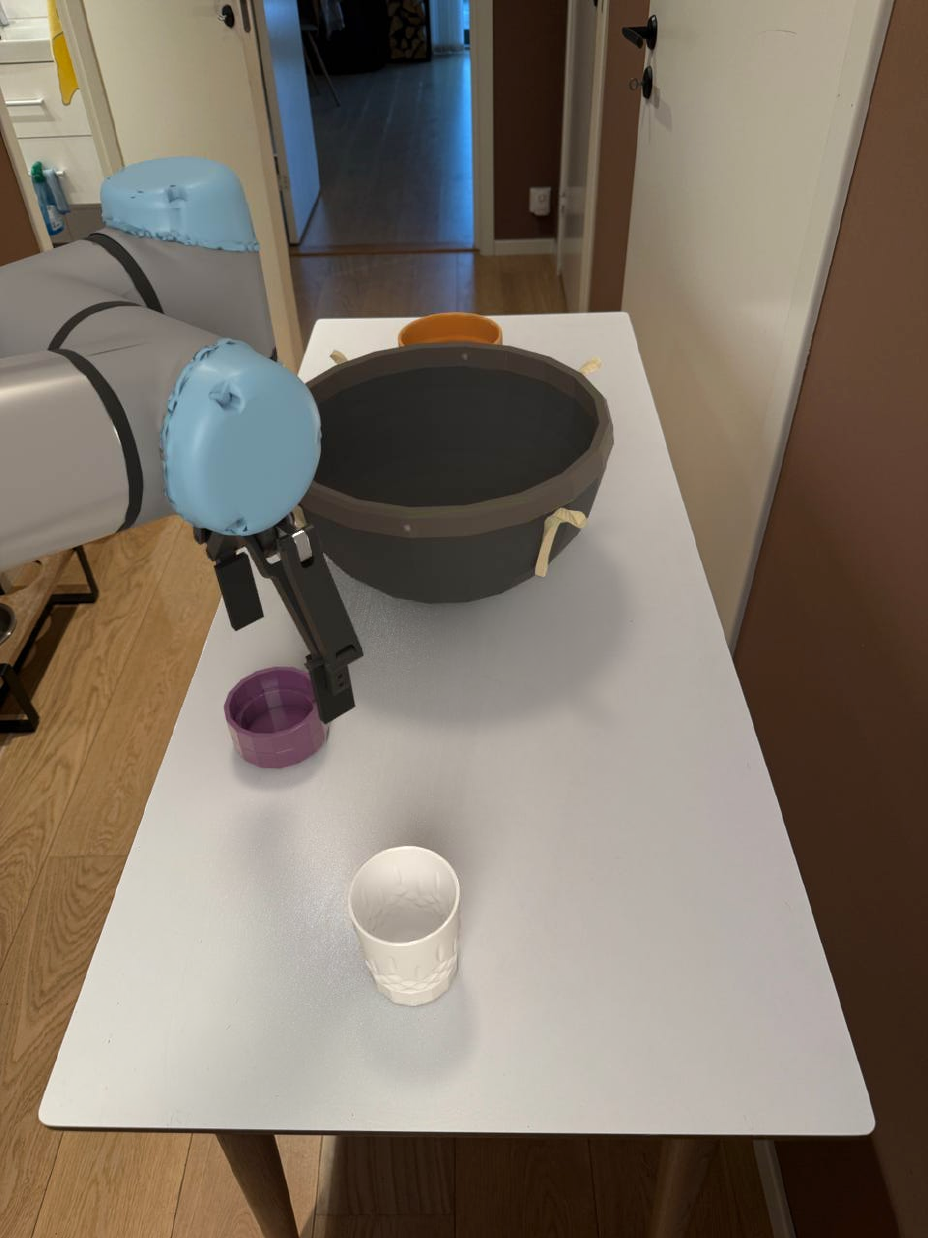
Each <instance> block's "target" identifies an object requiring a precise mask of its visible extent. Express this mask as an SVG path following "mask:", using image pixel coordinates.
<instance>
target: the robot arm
mask: <svg viewBox="0 0 928 1238" xmlns="http://www.w3.org/2000/svg"><path fill="white" fill-rule="evenodd" d="M99 199H100V200H99V201H100V205H101V209H102V210H101V216H100V217H101V219H102V223H103V224H105V226H104V227H103V228H101V229H99V230H96V231H94V232H91V233H89V234H88V235H86V236H85V237H82V238H79V239H77V240H75V241H72V242H69V243H65V244H63V245H60V246H57V247H54V248H51V249H48V250H45V251H42V252H39V253H37V254H34V255H30V256H28V257H24V258H21V259H19V260H16V261H13V262H10V263H7V264H4V265H1V266H0V574H1V573H4V572H7V571H9V570H12V569H16V568H18V567H22V566H24V565H28V564H30V563H33V562H36V561H39V560H42V559H45V558H48V557H51V556H53V555H56V554H59V553H63V552H65V551H67V550H70V549H73V548H76V547H80V546H82V545H86V544H88V543H92V542H94V541H97V540H99V539H103V538H105V537H108V536H111V535H114V534H116V533H117V534H118V533H120V532H123V531H126V530H127V531H128V530H131V529H136V528H138V527H141V526H144V525H147V524H150V523H152V522H155V521H159V520H161V519H165V518H168V517H171V516H179V517H180V518H181V519H182V520H183V521H185V522H187V524H189V525H191V526H192V535H193V539H194V542H196V543H197V544H198V545H199V546H202V545H204V544H205V545H206V547H205V554H206V556H207V558H208V559H209V560H210V562H213V563H215V564H214V565H213V569H214V573H215V576H216V580H217V582H218V587H219V589H220V593H221V596H222V600H223V603H224V606H225V610H226V613H227V616H228V620H229V623H230V627H231V628H232V629H233V630H234V631H235V632H238V631H239V630H243V629H244V628H245V627H247V626H249V625H251V624H253V623H255V622H257V621H259V620H261V619H263V618H265V614H264V610H263V606H262V602H261V599H260V594H259V590H258V587H257V584H256V578H255V575H254V572H253V568H252V564H251V560H252V561H253V564H254V565H255V567H256V569H257V570H258V571H257V572H258V573H259V575H260V577H262V578H263V579H267V580H270V581H271V582H272V584H273V586H274V588H275V589H276V591H277V593H278V595H279V597H280V599H281V601H282V602H283V605H284V606H285V608H286V610H287V612H288V614H289V616H290V618H291V620H292V623H294V626H295V627H296V629H297V632H298V633H299V635H300V637H301V639H302V641H303V643H304V644H305V647H306V648H307V650H308V652H309V654H307V655H305V661H306V662H305V663H303V665H304V667H305V668H306V669H307V670H308V673H309V675H310V679H311V683H312V688H313V692H314V696H315V701H316V705H317V710H318V714H319V718H320V720H321V721H322V722H323V723H324V724H325V725H326V724H327V723H328V724H329V723H330V722H332V721H334V720H336V719H337V718H340V716H342V715H344V714H345V713H347V712H350V710H352V709H354V708H356V703H355V696H354V691H353V686H352V681H351V676H350V670H349V665H350V664H352V663H354V662H356V661H357V660H359V659H361V658H362V657H364V655H365V654H364V650H363V647H362V645H361V642H360V640H359V637H358V635H357V633H356V630H355V628H354V626H353V625H354V624H353V623H352V621H351V618H350V616H349V613H348V611H347V609H346V606H345V604H344V601H343V599H342V597H341V594H340V591H339V589H338V587H337V585H336V584H337V583H336V582H335V579H334V577H333V575H332V571H331V570H330V567H329V564H328V563H327V560H326V557H325V554H324V553H323V550H322V546H321V542H320V538H319V534H318V531H317V529H316V528H315V527H314V525H313V524H311V523H310V524H308V525H306V526H303V527H301V528H298V527H297V525H296V523H295V516H294V514H293V512H292V510H293V509H294V508H295V507H296V506H297V504H298V503H299V502H300V501H301V499H302V498H303V496H304V495H305V493H306V492H307V490H308V488H309V486H310V484H311V482H312V480H313V478H314V475H315V472H316V469H317V466H318V463H319V458H320V452H321V444H320V439H321V436H322V434H321V430H320V427H321V422H320V415H319V411H318V408H317V405H316V402H315V400H314V398H313V395H312V394H311V392H310V390H309V389H308V387H307V386H306V385H305V383H306V382H304V381H303V380H302V379H301V377H299V376H298V375H296V374H295V372H293V371H292V370H291V369H289V368H288V367H286V366H285V362H284V361H283V360H282V359H281V358H280V357H278V349H277V345H276V337H275V333H274V328H273V322H272V317H271V311H270V306H269V305H270V304H269V300H268V294H267V288H266V283H265V278H264V277H265V276H264V272H263V266H262V260H261V254H260V250H261V245H260V242H259V240H258V238H257V235H256V230H255V227H254V224H253V223H254V222H253V217H252V215H251V210H250V208H249V203H248V201H247V197H246V195H245V191H244V188H243V185H242V182H241V180H240V178H239V177H238V175H237V174H236V172H235V171H234V170H233V169H232V168H230V167H229V166H228V165H226V164H225V163H223V162H220V161H217V160H214V159H210V158H206V157H202V156H169V157H167V156H166V157H160V158H153V159H148V160H143V161H139V162H136V163H132V164H128V165H126V166H123V167H122V168H120V169H119V170H118V171H117V172H114V173H113V174H110V175H108V176H106V178H105V179H104V180H103V181H102V183H101V185H100V189H99ZM244 548H245V549H246V550H247V552H248V554H247V553H246V551H241V552H239V553H237V551H239V550H241V549H244ZM249 555H250V556H249ZM276 555H277V557H278V559H279V560H277V561H275V562H273V563H271V562H269V561H268V559H270V558H272V557H274V556H276ZM250 558H251V560H250Z"/></svg>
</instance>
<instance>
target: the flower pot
mask: <svg viewBox="0 0 928 1238" xmlns="http://www.w3.org/2000/svg"><path fill="white" fill-rule="evenodd" d="M503 339H504V338H503V329H502V327H501V326H500V325H499V324H498V323H497V322H495V321H494V320H493V319H492V318H489V317H488V316H487V317H486V316H484V315H480V314H478V313H477V314H476V313H471V312H461V311H460V312H457V311H456V312H455V311H452V312H451V311H450V312H439V313H435V314H430V315H425V316H423V317H420V318H417V319H415V320H413V321H411V322H409V323H408V324H406V325H404V326H403V327H402V329H400V331H399V333H398V335H397V344H398V346H397V347H402V346H407V345H412V344H418V343H437V342H460V341H468V342H478V343H488V344H498V345H504V344H503Z"/></svg>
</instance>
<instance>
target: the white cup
mask: <svg viewBox="0 0 928 1238" xmlns="http://www.w3.org/2000/svg"><path fill="white" fill-rule="evenodd" d="M460 890H461V889H460V883H459V879H458V876H457V873H456V872H455V870H454V868H453V867H452V866H451V864H450V863H449V862H448V861H447V860H446V858H444V857H443V856H441V855H440V854H438V853H437V852H435V851H433V850H431V849H428V848H425V847H421V846H418V845H417V846H416V845H400V846H394V847H389V848H387V849H383V850H381V851H379V852H377V853H375V854H374V855H372V856H371V857H369V858H368V859H367V860H365V861H364V862H363V863H362V864H361V865H360V866H359V867H358V869H357V870H356V871H355V873H354V874H353V876H352V878H351V880H350V882H349V886H348V889H347V893H346V894H347V895H346V906H347V911H348V915H349V917H350V921H351V924H352V926H353V930H354V933H355V936H356V939H357V943H358V946H359V948H360V950H361V953H362V956H363V959H364V962H365V964H366V967H367V968H368V970H369V973H370V976H371V977H372V980H373V982H374V985H375V987H376V989H377V991H378V992H379V993H380V994H382V995H383V996H384V997H385V998H387V999H388V1000H390V1002H392V1003H394V1004H400V1005H404V1006H409V1007H417V1006H419V1005H420V1006H421V1005H424V1004H427V1003H432V1002H434V1001H435V1000H436V999H438V998H439V997H440V996H442V995H443V994H444V993H445V992H446V991H447V990H449V988H450V987H451V984H452V982H453V980H454V979H455V977H456V975H457V972H458V954H459V953H458V952H459V948H460V935H461V934H460V933H461V932H460V931H461V916H460V915H461V914H460V912H461V909H460V908H461V898H460V897H461V891H460Z"/></svg>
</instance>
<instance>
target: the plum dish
mask: <svg viewBox="0 0 928 1238" xmlns="http://www.w3.org/2000/svg"><path fill="white" fill-rule="evenodd" d="M223 710H224V718H225V722H226V726H227V728H228V731H229V734H230V737H231V738H230V739H231V741H232V744H233V747H234V750H235V752H236V753H237V754H238V755H239V756H240V757H241V759H243V761H244V762H246V763H248V764H251V765H252V766H256V767H257V768H261V769H275V770H276V769H277V770H279V769H284V768H288V767H291V766H295V765H299V764H301V763H302V762H303V761H306V760H308V758H310V757H312V756H314V755H316V753H317V751H318V750H319V749H320V748H321V746H322V745H323V744H324V743H325V742H326V739H327V735H328V731H329V728H330V727H329V725H330V724H329V723H327V724H326V725H325V724H324V723H323V722H322V721H321V720H320V718H319V714H318V710H317V705H316V701H315V696H314V692H313V688H312V683H311V679H310V675H309V671H305V670H303V669H299V668H296V667H294V666H272V667H268V668H264V669H260V670H257V671H254V672H252V673H250V674H249V675H247V676H245V677H243V678H241V679H240V680H239V681H238V682H237V683H236V684H235V685H234V686H233V687H232V688H231V689H230V690H229V692H228V693H227V696H226V699H225V701H224V705H223Z"/></svg>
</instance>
